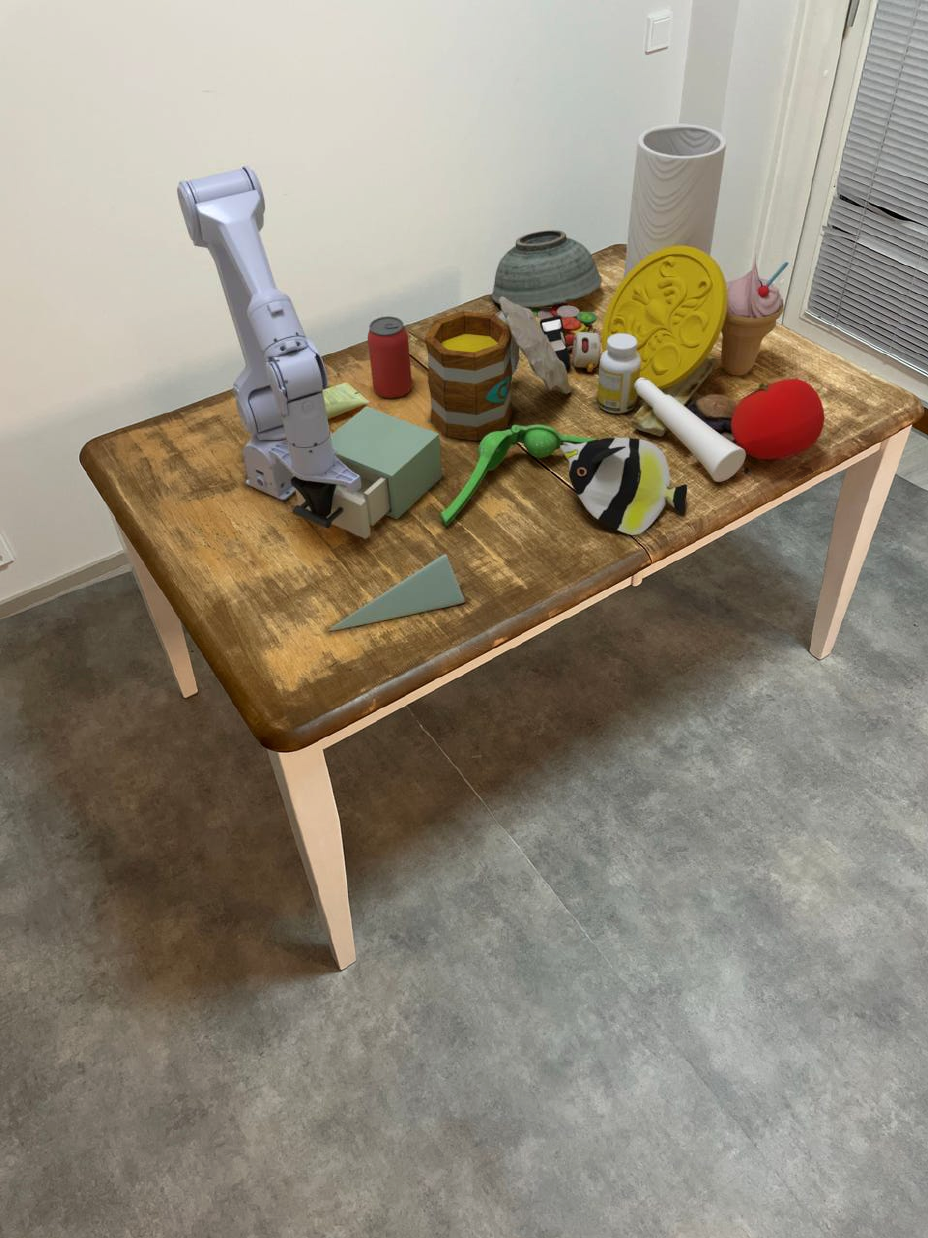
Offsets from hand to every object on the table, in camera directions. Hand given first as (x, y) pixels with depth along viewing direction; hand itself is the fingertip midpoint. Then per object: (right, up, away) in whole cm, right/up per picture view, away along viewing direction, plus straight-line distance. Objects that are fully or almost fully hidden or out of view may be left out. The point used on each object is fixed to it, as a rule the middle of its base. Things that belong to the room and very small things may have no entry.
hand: (323, 515), depth 137 cm
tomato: (+69, +10, +9) cm, 70 cm away
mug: (+23, +20, +23) cm, 38 cm away
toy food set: (+36, +37, +38) cm, 64 cm away
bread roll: (+60, +17, +19) cm, 65 cm away
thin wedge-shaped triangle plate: (+12, -14, -8) cm, 20 cm away
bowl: (+34, +56, +41) cm, 77 cm away
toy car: (+36, +32, +31) cm, 58 cm away
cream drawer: (+2, +1, +5) cm, 6 cm away
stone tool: (+38, +23, +26) cm, 52 cm away
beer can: (+8, +24, +28) cm, 38 cm away
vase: (+55, +40, +40) cm, 79 cm away
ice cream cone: (+66, +28, +28) cm, 77 cm away
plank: (+53, +22, +24) cm, 62 cm away
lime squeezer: (+30, +8, +11) cm, 33 cm away
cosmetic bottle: (+59, +8, +6) cm, 60 cm away
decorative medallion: (+53, +34, +22) cm, 66 cm away
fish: (+44, +12, +5) cm, 46 cm away
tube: (-13, +15, +16) cm, 26 cm away
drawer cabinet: (+8, +6, +11) cm, 15 cm away
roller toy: (+41, +29, +31) cm, 59 cm away
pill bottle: (+45, +21, +23) cm, 54 cm away
